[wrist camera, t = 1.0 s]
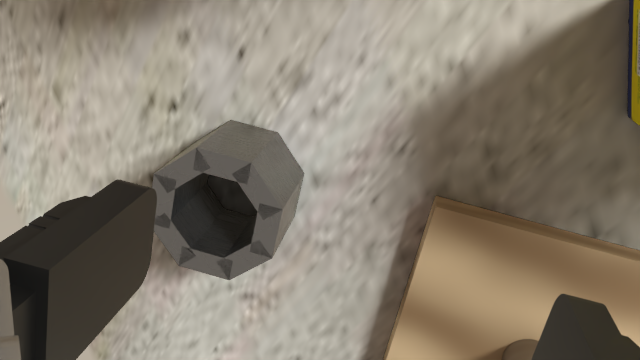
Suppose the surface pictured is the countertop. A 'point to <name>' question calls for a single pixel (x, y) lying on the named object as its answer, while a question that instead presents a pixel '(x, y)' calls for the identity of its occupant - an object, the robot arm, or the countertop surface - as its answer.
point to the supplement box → (634, 62)
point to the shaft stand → (503, 285)
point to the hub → (207, 212)
